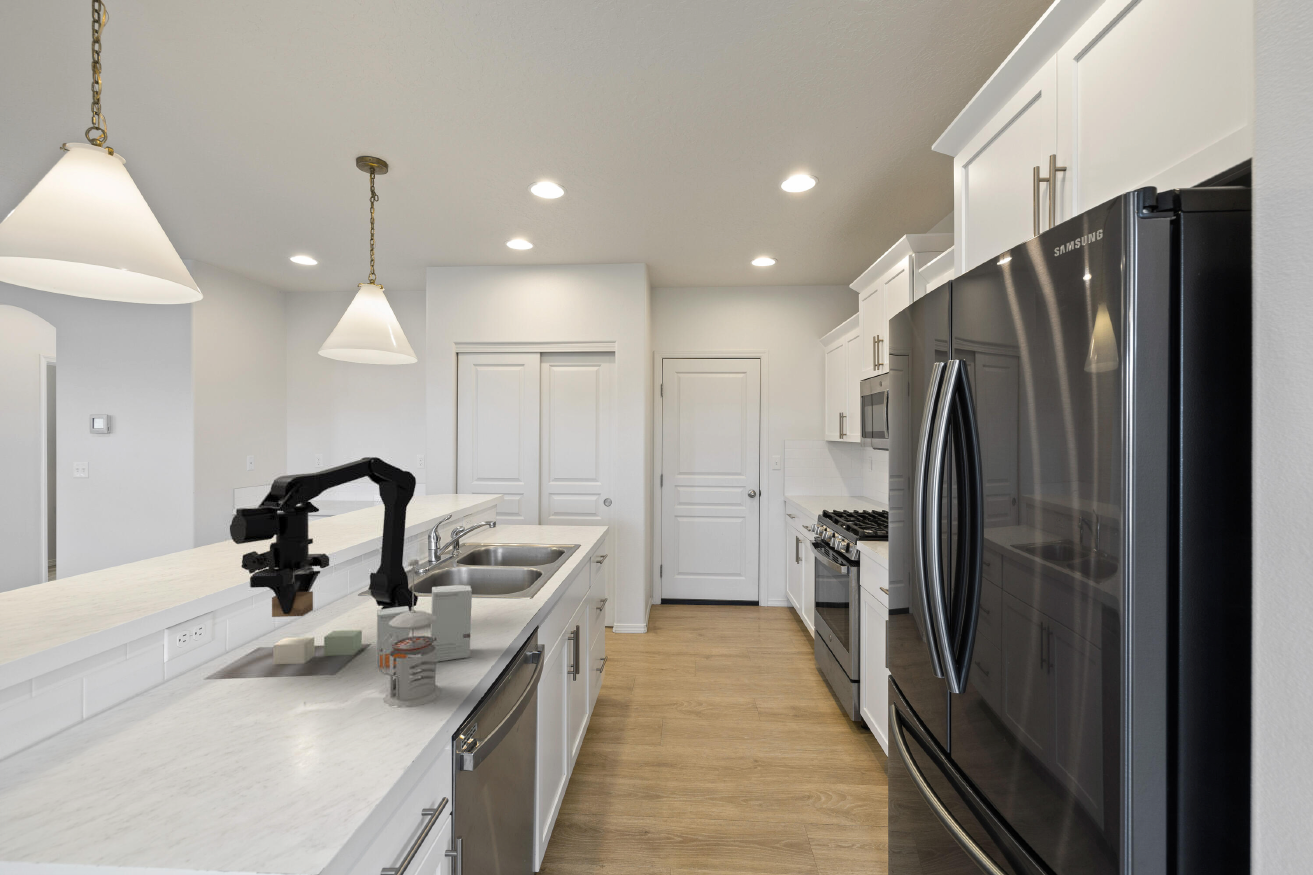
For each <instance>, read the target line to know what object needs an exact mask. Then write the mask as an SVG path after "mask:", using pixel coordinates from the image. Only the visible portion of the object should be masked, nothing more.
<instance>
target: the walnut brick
mask: <svg viewBox="0 0 1313 875" xmlns="http://www.w3.org/2000/svg"><path fill="white" fill-rule="evenodd" d="M312 611H314V592H313V591H311V590H310V591H309V592H297V594H296V597H295V600H294V603H293V607H292V609H291V612H290V614H284V613H283V611H282V609H281V606H280V604H279V601H278V599H277V597H276V595H274V596H272V597H271V617H272V618H281V617H282V618H283V617H290V618H291V617H303V616H305V615H307V614H309V613H310V612H312Z"/></svg>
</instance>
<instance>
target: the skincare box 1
mask: <svg viewBox="0 0 1313 875" xmlns="http://www.w3.org/2000/svg"><path fill="white" fill-rule="evenodd" d="M405 612H409V607H408V606H405V607H395V608H389V609H381V608H380V609H377V610H376V613H377V614H376V617H377V618H376V669H379V668H378V665H377V652H378V649H379V646H380V644H381V642H382V641H383V639H384V638H385V637H386V636H387V635H389V634H392V638H393V637H394V636H395V635H398V640H399V639H401V638H404V637H410V629H394V628H392V627H390V625H389V622H390V621H391V620H393V619H394V618H395V617H396V616H398V615H400V614H402V613H405ZM390 640H391V635H389V636H388V637H387V638H386V639H385V640H384V642H383V643H382V645H381V648H380V651H379V655H378V656H379V666H380V669H384V666H383V655H384V651H385V648H386V646H387V644H388V643H389V641H390ZM393 640H394V641H397V637H395V638H394V639H393ZM393 643H394V642H393V641H392V640H391V642H390V644H389V645H388V647H387V650H386V653H385V667H386V668H390V652H391V651H392V650H394V649H393V648H392V644H393ZM409 656H410V655H405V654H400V653H399V654H395V655H394V656H393V659H394V658H396V657H403V658H410V657H409ZM394 665H396V661H395V662H394V663H393V666H394Z"/></svg>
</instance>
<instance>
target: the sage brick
mask: <svg viewBox="0 0 1313 875" xmlns="http://www.w3.org/2000/svg"><path fill="white" fill-rule="evenodd" d="M362 634H363V630H362V629H353V630H351V629H349V630H347V629H346V630H332V631H331V632H329V633H328V634H326V635H325V636H324V638H323V640H324V641H323V645H324V656H333V655H354V654H355V653H356V652H358V651H359V650H360V649H361V648H362V640H363V638H362V637H363V636H362Z"/></svg>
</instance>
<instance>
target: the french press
mask: <svg viewBox="0 0 1313 875" xmlns="http://www.w3.org/2000/svg"><path fill="white" fill-rule="evenodd" d="M407 566H408V567H412V592H413V595H412V611H409V612H405V613H402V614H400V615H398V616H396V617H395V618H394V619H393V620H391V621H390V622H389V625H390V627H392V628H394V629H409V630H411V631H412V632H411V633H412V634H411V636H409V637H404V638H401V639H399V640H398V635H395V636H394V637H393V638H392V634H389V635H391V640H392V641H393V642H394V643H393V644H392V648H393V649H394V650H392V651H391V652H390V667H389V671H388V670H387V667H385V653H386V650H387V647H388V645H389V644H390V642H391V640H390V641H389V643H388V644H387V646H386V648H385V651H384V655H383V666H384V668H383V669H384V671H385V672H384V671H382V668H380V666H379V656H378V655H379V651H380V648H381V645H382V643H383V642H384V640H385V639H386V638H387V637H388V636H389V635H387V636H386V637H385V638H384V639H383V641H382V642H381V644H380V646H379V649H378V652H377V651H376V653H377V665H378V668H377V669H378V670H379V672H380V673H381V674H382V675H386V676H389V691H388V693H387V694H386V695H385V696H384V697H383V703H384V704H385V703H386V704H388V705H389V706H388V705H387V706H388V707H392V706H397V707H396V708H410V707H409V706H412V707H416V706H420V705H421V706H422V705H423V703H424V704H427V703H429V702H431V701H433V700H435V699H436V698H438V697H439V696H440V694H441V693H442V690H440V689H441V687H440V686H438V685H437V684H436V674H437V673H436V671H437V670H436V665H437V664H436V662H435V661H436V648H435V646H434V645H432V643H433V642H434V639H433V638H432V637H431V636H429V635H414V629H420V628H424V627H427V626H429V625H431V624H432V623H433V622H434V621H435V620H436V616H435V615H433V614H431V613H430V612H427V611H424V610H414V607H415V606H414V594H415V590H414V589H415V587H414V586H415V583H414V581H415V576H414V575H415V574H414V573H415V567H417V566H420V562H419V560H418V559H417V558H412V559H410V560H408V561H407ZM395 637H397V641H394V640H393V639H394V638H395ZM399 653H400V654H405V655H409V656H415V657H409V658H403V657H396V658H394V659H393V656H394V655H395V654H399ZM418 655H419V656H418ZM395 661H396V665H394V666H393V663H394V662H395ZM440 692H441V693H440ZM437 696H438V697H437ZM386 704H385V705H386ZM403 706H404V707H403ZM405 706H406V707H405ZM407 706H408V707H407Z"/></svg>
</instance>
